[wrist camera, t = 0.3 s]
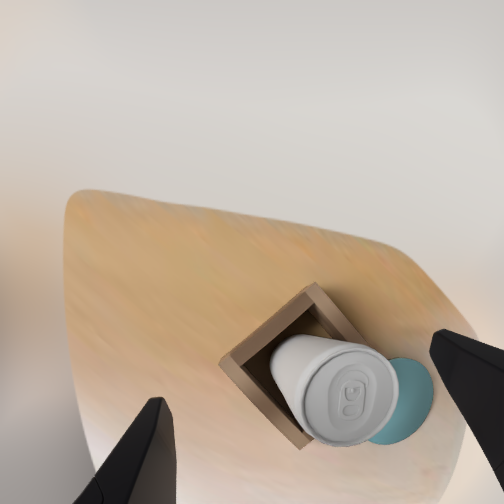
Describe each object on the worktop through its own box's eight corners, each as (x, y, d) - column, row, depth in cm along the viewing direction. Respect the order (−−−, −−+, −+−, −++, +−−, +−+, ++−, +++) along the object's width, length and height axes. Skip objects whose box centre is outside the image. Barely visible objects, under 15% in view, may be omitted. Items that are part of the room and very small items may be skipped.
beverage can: (330, 334, 24) (406, 342, 12) (326, 392, 23) (394, 442, 11) (270, 332, 24) (300, 344, 12) (266, 392, 23) (291, 453, 11)
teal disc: (443, 395, 23) (445, 396, 22) (383, 457, 21) (386, 459, 21) (400, 339, 24) (403, 339, 23) (334, 405, 22) (335, 407, 22)
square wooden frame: (370, 364, 23) (388, 369, 20) (291, 434, 22) (299, 450, 18) (305, 287, 24) (315, 281, 21) (220, 358, 23) (218, 364, 20)
